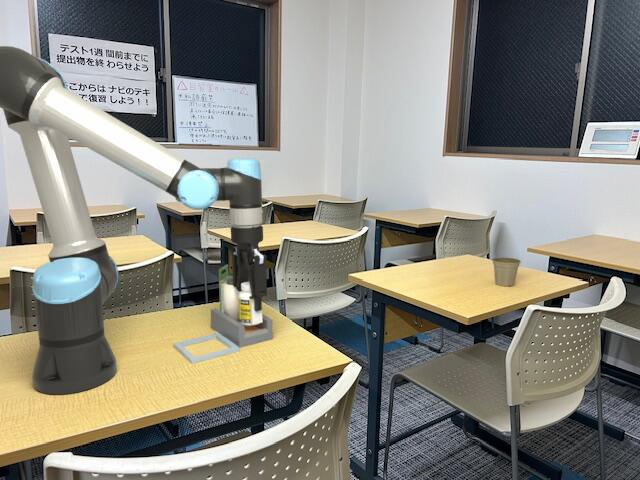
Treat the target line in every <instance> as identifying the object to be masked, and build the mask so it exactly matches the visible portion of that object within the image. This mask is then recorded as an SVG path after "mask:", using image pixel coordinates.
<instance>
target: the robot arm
mask: <svg viewBox="0 0 640 480" xmlns="http://www.w3.org/2000/svg"><path fill="white" fill-rule="evenodd" d="M0 108H1V109H2V110H3V115H4V117H5V121H6V124H7V126H8V128H9V130H10V129H11V130H12V131H13V132H16V133H17V134H18V135H19V136H20V140H21V144H22V146H23V150H24V153H25V157H26V159H27V163H28V167H29V170H30V172H31V176H32V180H33V183H34V186H35V190H36V193H37V196H38V199H39V203H40V206H41V209H42V213H43V216H44V219H45V222H46V223H45V224H46V226H47V229H48V233H49V235H50V240H51V242H52V245H53V246H52V248H51V250H50V251H49V253H48V259H49V262H46V263H43V264H42V265H39V266H38V267H37V268H36V270H35V271H34V273H33V276H32V288H31V290H32V294H33V298H34V308H35V314H36V317H35V318H36V325H37V326H36V327H37V332H38V333H37V334H38V343H39V347H38V352H37V355H36V360H35V363H34V367H33V371H32V375H31V376H32V383H33V388H34V389H35V390H36V391H37V390H38V391H37V392H39V391H40V392H39V393H42V394H48V395H67V394H68V395H69V394H75V393H80V392H83V391H88V390H90V389H94V388H96V387H98V386H100V385H103V384H106V383H107V382H109V381H110V380H111V379H112V378H113V377H114V376H115V375H116V373H117V371H118V368H117V359H116V356H115V355H114V352H113V350H112V348H111V345H110V344H109V342H108V340H107V337H106V335H105V334H106V333H105V324H104V320H105V319H104V310H103V309H104V308H103V307H104V306H103V305H104V304H105V302H106V301H107V300H108V298H109V297H110V296H111V295H113V292H114V291H115V289H116V287H117V284H118V279H119V269H118V266H117V263H116V262H115V260H114V258H112V256H111V255H109V251H108V247H107V244H106V241H104V240H103V239H101V238H99V237H98V236H97V235H96V232H95V229H94V225H93V221H92V218H91V214H90V211H89V208H88V203H87V201H86V197H85V193H84V191H83V186H82V184H81V179H80V175H79V173H78V169H77V165H76V162H75V161H76V160H75V158H74V155H73V151H72V148H71V145H70V141H69V138H70V139H71V140H73V141H74V142H77V143H78V144H79V145H82V146H84V147H86V148H87V149H89V150H90V151H93V152H94V153H96V154H98V155H100V156H102V157H103V158H105V159H107V160H108V161H110V162H112V163H113V164H116V165H117V166H120V167H121V168H123V169H124V170H127V171H128V172H130V173H132V174H133V175H136V176H137V177H139V178H141V179H143V180H145V181H146V182H148V183H150V184H151V185H154V186H155V187H157V188H159V189H160V190H162V191H165V192H166V193H167V194H169V195H170V196H172V197H174V198H175V200H176V202H179V203H182V204H183V205H184V206H186V207H188V208H189V209H192V210H196V211H200V210H201V211H202V210H206V209H207V208H210V207H211V206H212V205H213V204H214V203H216V202H220V201H223V202H226V201H229V207H228V209H229V224H230V225H231V227H230V240H231V241H230V242H231V243H233V244H236V246H233V247H230V253H231V261H232V265H231V266H232V267H231V268H232V276H233V286H234V287H236V289H237V291H238V300H239V294H240V293H241V292H242V290H241V284H242V283H244V282H250V288H251V294H252V296H249V298H250V313H251V324H252V325H254V324H258V323H262V314H263V303H262V302H263V297H267V296H268V287H267V285H268V284H267V269H266V268H267V266H266V264H267V255H266V254H262V253H260V247H259V244H260V243H262V242H263V241H264V227H263V225H261V224H262V223H263V213H264V210H263V200H262V199H263V198H262V197H263V194H262V193H263V192H262V191H263V189H262V174H261V172H262V171H261V162H260V161H259V159H256V158H230V159H228V160H227V164H226V167H219V168H215V167H214V168H212V167H211V168H210V167H205V168H203V167H202V168H201V167H199V166H197V165H196V164H194V163H192V162H190V161H188V160H186V159H185V158H183V157H182V156H180V155H179V154H176V153H175V152H174V151H171V150H169V149H168V148H166V147H164V146H163V145H161V144H160V143H158V142H156V141H154V140H153V139H152V138H150V137H148V136H146V135H144V134H143V133H141V132H140V131H138V130H136V129H134V128H133V127H132V126H129V125H128V124H126V123H125V122H122V121H121V120H120V119H118V118H116V117H114V116H112V115H111V114H109V113H107V111H104V110H103V109H101V108H100V107H98V106H95V105H94V104H93V103H91V102H89V101H87V100H85V99H84V98H82V97H81V96H79V95H77V94H76V93H74V92H72V91H71V90H69V89H68V85H67V83H66V80H65V79H64V77H63V75H62V74H61V73H60V72H59V71H58V70H57V68H56V67H55V66H53V65H52V64H51V63H49V62H48V61H46V60H45V59H43V58H40V57H37V56H34V55H33V54H31V53H29V52H28V51H26V50H24V49H22V48H20V47H19V48H18V47H15V46H8V45H3V46H0Z"/></svg>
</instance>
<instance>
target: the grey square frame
mask: <svg viewBox="0 0 640 480" xmlns="http://www.w3.org/2000/svg"><path fill="white" fill-rule="evenodd" d="M215 339H217V340H218V341H219V342H220V343H222V344H223V345H225V346H226V347H227V348H225V349H220V350H215V351H212V352H209V353H204V354H200V355H197V356H195V355H193V353H191V351H189V350H188V349H187V348H186V346H190V345H194V344H199V343H202V342H207V341H212V340H215ZM172 344H173V348H175V349H176V351H178V352H179V353H180V354H181V355H182V356H183V357H184V358H185V359H186V360H188V361H189V362H190V363H191V364H194V363H200V362H203V361H206V360H207V361H208V360H211V359H215V358H218V357H222V356H226V355H230V354H233V353H237V352H240V348H241V347H240V348H239V347H238V346H237V345H235V344H234V343H232V342H231V341H230V340H228V339H227V338H225V337H224V336H223V335H221V334H220V333H218V332H215V333H211V334H207V335H203V336H199V337H193V338H190V339H185V340H181V341H176V342H173V343H172Z"/></svg>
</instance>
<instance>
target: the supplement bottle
mask: <svg viewBox="0 0 640 480" xmlns="http://www.w3.org/2000/svg"><path fill="white" fill-rule="evenodd" d="M241 290H242V292H241V293H240V294H239V321H240V324H242V325H245V326H252V324H251V313H250V298H249V296H252V294H251V288H250V282H249V281H248V282H244V283H242V284H241ZM258 324H260V323H258ZM254 325H257V324H254Z"/></svg>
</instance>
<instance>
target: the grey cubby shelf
mask: <svg viewBox="0 0 640 480" xmlns="http://www.w3.org/2000/svg"><path fill="white" fill-rule="evenodd" d="M210 322H211V323H210V326H211V328H212V329H213V330H214V331H216V333H220V334H221V335H223V336H224V337H225V338H227V339H228V340H230V341H231V342H232V343H234V344H235V345H237V346H238V347H239V348H243V347H247V346H251V345H255V344H259V343H263V342H267V341H271V340H273V339H274V335H273V334H274V333H273V332H274V331H273V330H274V329H273V327H274V326H273V319H272V318H270V317H268V316H267V315H265V314H263V313H262V323H260V324H257V325H252V326H245V325H242V324H240V322H237V321H235V320H234V319H232V318H231V317H229V316H227V315H226V314H224V313H223V312H221V311H220V309H218V308H216V307H215V308H211V309H210Z"/></svg>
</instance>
